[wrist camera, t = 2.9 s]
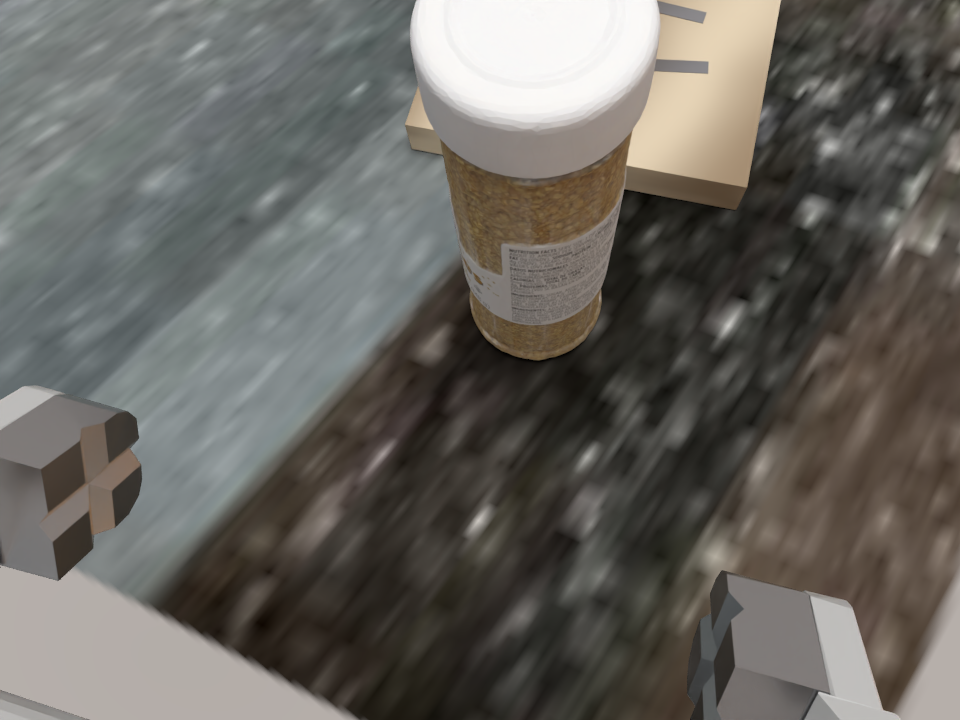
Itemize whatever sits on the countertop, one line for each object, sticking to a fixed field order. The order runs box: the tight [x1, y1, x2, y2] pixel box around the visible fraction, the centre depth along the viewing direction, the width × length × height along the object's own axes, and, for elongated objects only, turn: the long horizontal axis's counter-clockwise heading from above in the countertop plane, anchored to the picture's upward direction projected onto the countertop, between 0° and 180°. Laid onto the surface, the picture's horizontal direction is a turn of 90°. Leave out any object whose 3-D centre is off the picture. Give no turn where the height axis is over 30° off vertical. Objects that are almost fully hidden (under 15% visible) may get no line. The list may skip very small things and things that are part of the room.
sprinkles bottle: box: [410, 0, 661, 360], centre depth 20 cm, size 5×5×14 cm
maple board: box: [405, 0, 781, 210], centre depth 29 cm, size 12×13×2 cm
